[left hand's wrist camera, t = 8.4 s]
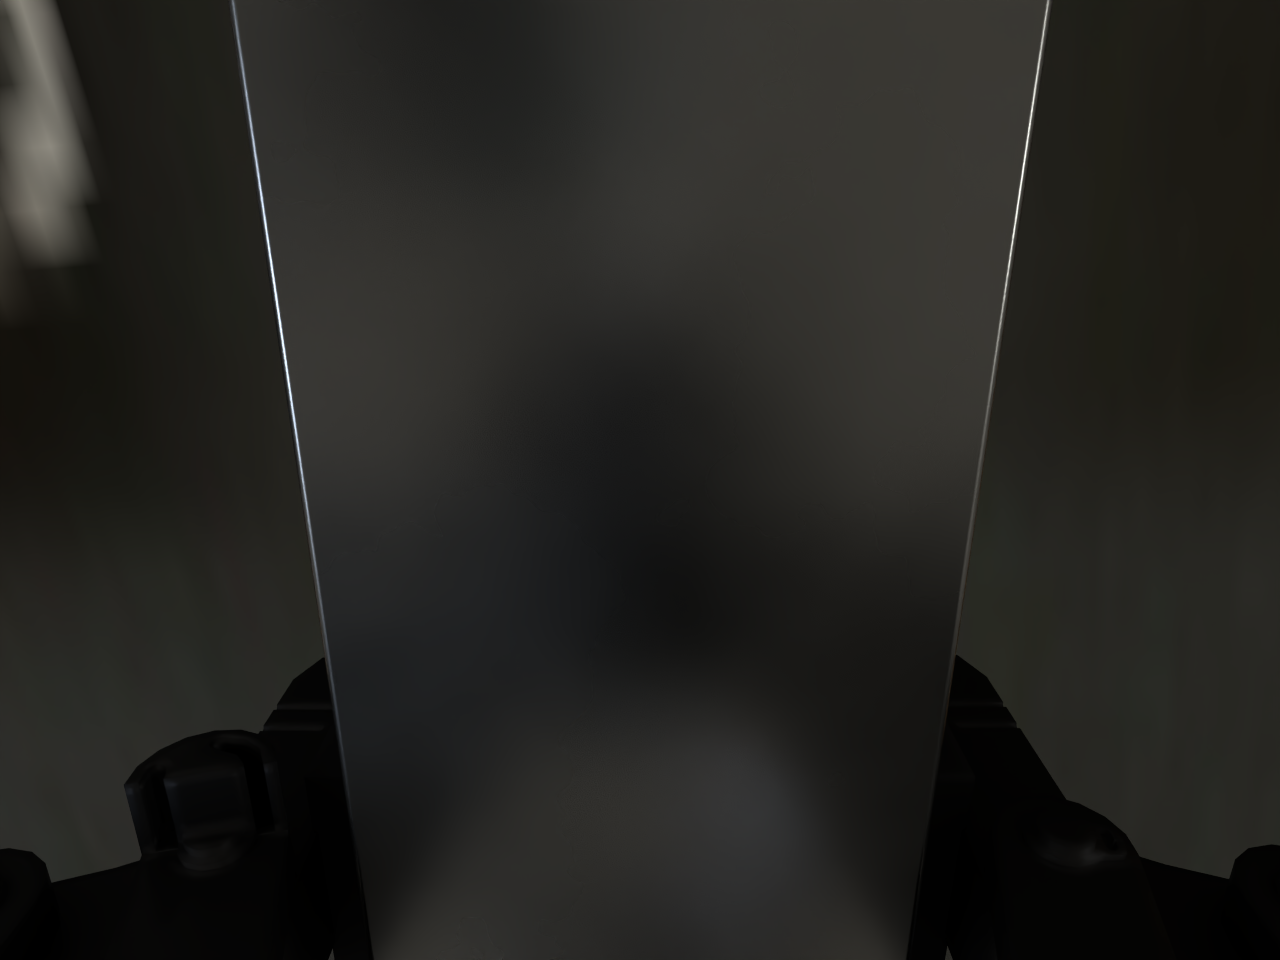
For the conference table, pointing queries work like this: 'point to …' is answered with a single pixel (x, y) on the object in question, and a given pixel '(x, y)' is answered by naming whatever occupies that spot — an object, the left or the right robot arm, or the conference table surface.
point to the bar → (640, 446)
